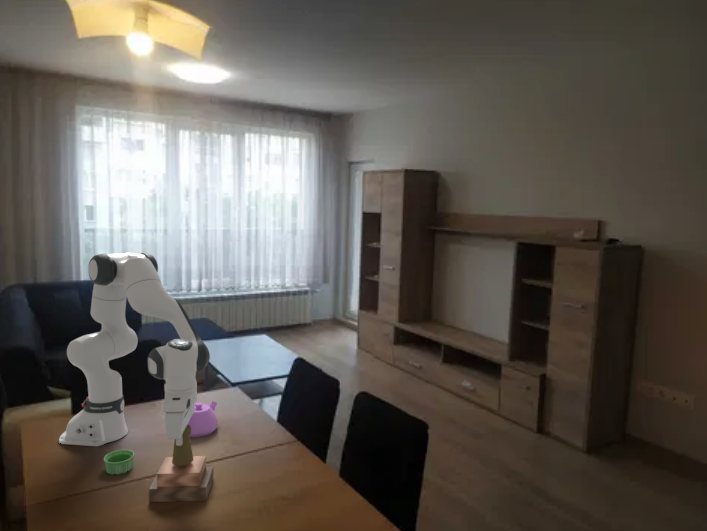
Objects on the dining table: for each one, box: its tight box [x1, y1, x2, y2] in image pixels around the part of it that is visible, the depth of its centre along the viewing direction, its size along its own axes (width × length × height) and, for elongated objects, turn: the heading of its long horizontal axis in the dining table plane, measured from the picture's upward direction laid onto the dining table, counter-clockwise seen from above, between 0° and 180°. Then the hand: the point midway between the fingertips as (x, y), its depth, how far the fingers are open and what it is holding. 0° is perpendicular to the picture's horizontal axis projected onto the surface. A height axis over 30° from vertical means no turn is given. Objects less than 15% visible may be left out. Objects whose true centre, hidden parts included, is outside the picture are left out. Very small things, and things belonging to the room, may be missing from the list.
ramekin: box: [103, 449, 135, 475], centre depth 164 cm, size 9×9×4 cm
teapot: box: [189, 400, 219, 438], centre depth 194 cm, size 14×20×11 cm
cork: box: [172, 424, 194, 466], centre depth 151 cm, size 6×6×11 cm
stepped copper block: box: [148, 455, 214, 503], centre depth 152 cm, size 16×12×8 cm
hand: (182, 440), depth 151 cm, fingers closed on cork, 4 cm apart
